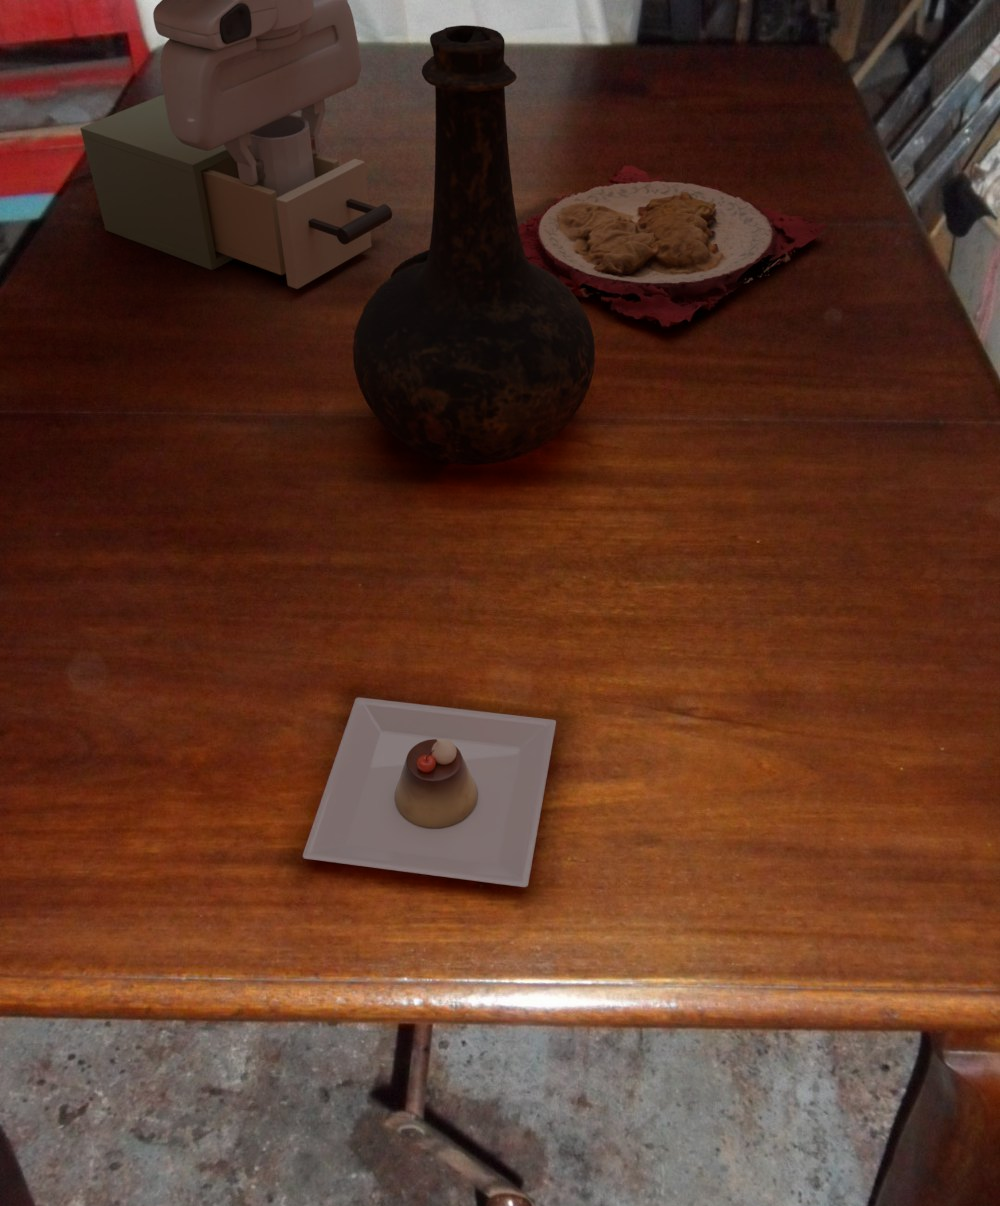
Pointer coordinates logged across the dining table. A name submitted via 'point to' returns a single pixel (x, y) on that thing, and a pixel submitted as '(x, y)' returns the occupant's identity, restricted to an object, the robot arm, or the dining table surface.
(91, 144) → the cabinet
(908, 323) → the dining table surface
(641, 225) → the plate with food
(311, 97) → the robot arm
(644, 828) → the dining table surface
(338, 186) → the drawer
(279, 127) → the tin
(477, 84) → the glass bottle
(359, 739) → the dessert
